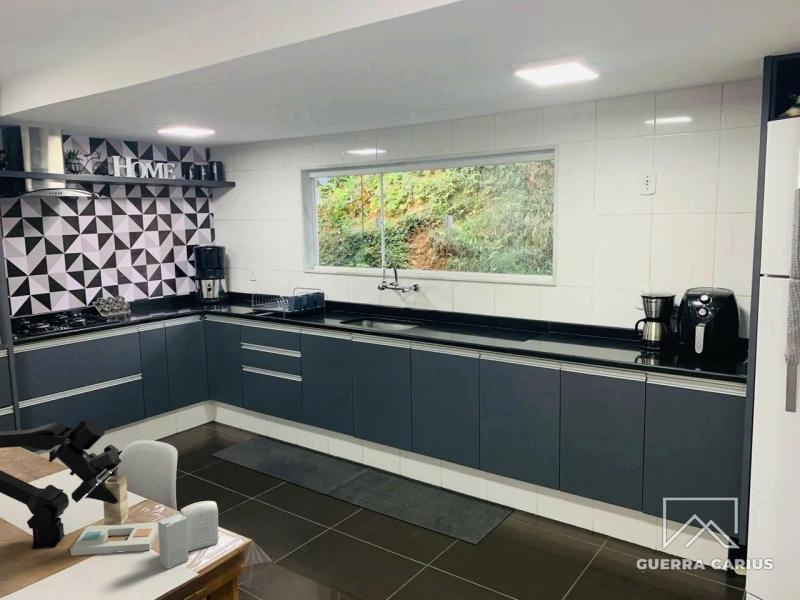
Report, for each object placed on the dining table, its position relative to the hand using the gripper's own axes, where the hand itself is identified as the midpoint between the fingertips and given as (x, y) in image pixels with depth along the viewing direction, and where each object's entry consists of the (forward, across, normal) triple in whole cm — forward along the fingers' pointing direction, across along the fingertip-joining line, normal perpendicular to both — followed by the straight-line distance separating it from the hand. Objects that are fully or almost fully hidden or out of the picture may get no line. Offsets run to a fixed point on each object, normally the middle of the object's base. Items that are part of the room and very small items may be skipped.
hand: (120, 498), depth 165 cm
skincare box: (+22, -11, -4) cm, 25 cm away
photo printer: (+25, -2, -7) cm, 26 cm away
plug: (+4, 0, +6) cm, 7 cm away
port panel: (+8, 0, +10) cm, 13 cm away
